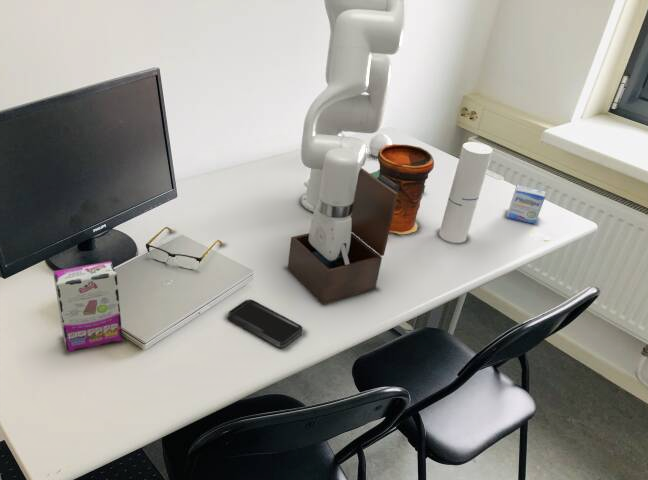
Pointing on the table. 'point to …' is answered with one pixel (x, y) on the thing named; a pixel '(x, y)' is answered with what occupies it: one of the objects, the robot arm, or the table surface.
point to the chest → (334, 270)
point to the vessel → (405, 181)
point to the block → (323, 259)
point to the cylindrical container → (465, 191)
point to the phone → (265, 323)
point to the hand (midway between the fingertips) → (324, 274)
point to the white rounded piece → (379, 143)
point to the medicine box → (526, 204)
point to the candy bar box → (88, 305)
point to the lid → (373, 210)
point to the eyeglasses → (177, 254)
